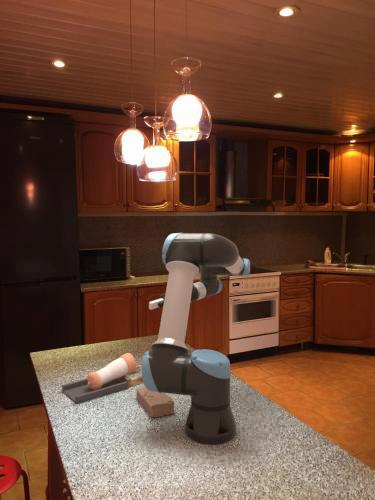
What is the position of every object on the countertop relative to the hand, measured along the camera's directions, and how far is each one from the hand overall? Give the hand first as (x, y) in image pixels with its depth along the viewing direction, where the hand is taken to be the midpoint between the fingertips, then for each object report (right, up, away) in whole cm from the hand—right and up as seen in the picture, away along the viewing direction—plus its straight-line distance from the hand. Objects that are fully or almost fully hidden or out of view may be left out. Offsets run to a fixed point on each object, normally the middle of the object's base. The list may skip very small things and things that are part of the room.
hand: (150, 305), depth 158 cm
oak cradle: (-7, -29, 0) cm, 30 cm away
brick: (+4, -31, -23) cm, 39 cm away
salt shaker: (-7, -22, -1) cm, 23 cm away
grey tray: (-19, -30, -10) cm, 37 cm away
